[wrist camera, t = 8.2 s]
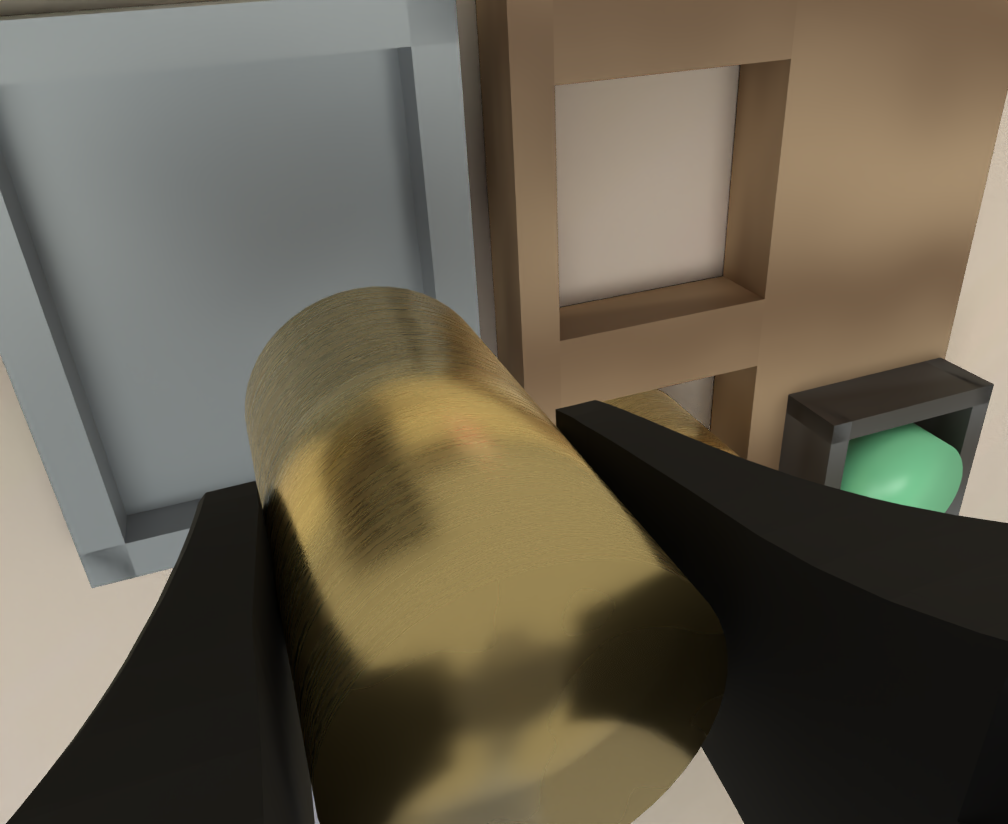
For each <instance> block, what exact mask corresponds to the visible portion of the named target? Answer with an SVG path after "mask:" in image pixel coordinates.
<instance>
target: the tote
mask: <svg viewBox="0 0 1008 824" xmlns="http://www.w3.org/2000/svg"><path fill="white" fill-rule="evenodd" d="M372 286H380V287H396V288H403V289H409V290H412V291H416V292H419V293H423V294H425V295H427V296H430V297H432V298H434V299H436V300H438V301H440V302H441V303H443V304H445V305H446V306H448V307H450V308H451V309H452V310H453V311H455V312H456V313H457V314H458V315H459V316H461V317H462V318H463V320H464V321H465V322H466V323H467V324H468V325H469V326H470V327H471V328H472V330H473V331H474V332H475V333H476V334H477V335H478V337H479V338H480V339H481V337H480V324H479V310H478V296H477V283H476V269H475V255H474V242H473V228H472V214H471V201H470V187H469V173H468V160H467V146H466V132H465V119H464V105H463V91H462V78H461V64H460V50H459V37H458V23H457V9H456V0H220V1H206V2H193V3H179V4H165V5H152V6H138V7H124V8H110V9H97V10H83V11H69V12H56V13H42V14H28V15H14V16H1V17H0V355H1V357H2V360H3V363H4V365H5V368H6V370H7V373H8V375H9V378H10V380H11V383H12V386H13V388H14V391H15V393H16V396H17V398H18V401H19V403H20V406H21V409H22V411H23V414H24V416H25V419H26V421H27V424H28V426H29V429H30V432H31V434H32V437H33V439H34V442H35V444H36V447H37V449H38V452H39V455H40V457H41V460H42V462H43V465H44V467H45V470H46V472H47V475H48V478H49V480H50V483H51V485H52V488H53V490H54V493H55V495H56V498H57V500H58V503H59V506H60V508H61V511H62V513H63V516H64V518H65V521H66V523H67V526H68V529H69V531H70V534H71V536H72V539H73V541H74V544H75V546H76V549H77V552H78V554H79V557H80V559H81V562H82V564H83V567H84V569H85V572H86V575H87V577H88V580H89V582H90V585H91V587H92V588H95V587H99V586H103V585H107V584H111V583H115V582H119V581H123V580H127V579H131V578H135V577H139V576H143V575H146V574H150V573H154V572H158V571H162V570H166V569H170V568H174V566H175V564H176V562H177V559H178V557H179V554H180V552H181V550H182V547H183V545H184V542H185V540H186V537H187V535H188V532H189V530H190V527H191V524H192V521H193V518H194V515H195V512H196V509H197V505H198V502H199V501H200V500H201V498H202V497H203V496H204V494H205V493H206V492H210V491H214V490H219V489H223V488H227V487H231V486H235V485H240V484H244V483H248V482H252V481H256V477H255V472H254V466H253V461H252V455H251V450H250V444H249V439H248V433H247V427H246V421H245V398H246V391H247V386H248V382H249V379H250V375H251V372H252V370H253V368H254V365H255V363H256V361H257V359H258V357H259V355H260V354H261V352H262V350H263V349H264V347H265V346H266V344H267V343H268V341H269V340H270V339H271V338H272V337H273V336H274V334H275V333H276V332H277V331H278V330H279V329H280V328H281V327H282V326H283V325H284V324H285V323H286V322H287V321H288V320H290V319H291V318H292V317H293V316H295V315H296V314H297V313H299V312H300V311H302V310H303V309H305V308H306V307H308V306H310V305H311V304H313V303H315V302H317V301H319V300H321V299H323V298H326V297H328V296H331V295H334V294H336V293H339V292H343V291H347V290H351V289H355V288H364V287H372ZM256 484H257V483H256Z"/></svg>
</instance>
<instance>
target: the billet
mask: <svg viewBox="0 0 1008 824" xmlns="http://www.w3.org/2000/svg"><path fill="white" fill-rule="evenodd" d="M245 421H246V427H247V433H248V439H249V444H250V450H251V455H252V461H253V466H254V472H255V477H256V483H257V488H258V492H259V496H260V500H261V504H262V508H263V512H264V518H265V523H266V529H267V534H268V540H269V545H270V551H271V556H272V564H273V573H274V580H275V586H276V592H277V598H278V604H279V609H280V615H281V620H282V626H283V631H284V637H285V642H286V648H287V653H288V659H289V664H290V670H291V675H292V681H293V686H294V692H295V697H296V703H297V708H298V714H299V719H300V725H301V730H302V736H303V741H304V747H305V752H306V758H307V763H308V769H309V774H310V780H311V785H312V791H313V796H314V802H315V807H316V813H317V818H318V821H319V823H320V824H630V823H631V822H633V821H634V820H635V819H636V818H637V817H639V816H640V815H641V814H642V813H643V812H645V811H646V810H647V809H648V808H649V807H650V806H652V805H653V804H654V803H655V802H656V801H657V800H658V799H659V798H660V797H661V796H662V795H663V794H664V793H665V792H666V791H667V790H668V789H669V788H670V786H671V785H672V784H673V783H674V782H675V781H676V779H677V778H678V777H679V776H680V775H681V774H682V772H683V771H684V770H685V769H686V767H687V766H688V765H689V763H690V762H691V760H692V759H693V758H694V756H695V755H696V753H697V752H698V750H699V749H700V747H701V745H702V744H703V742H704V740H705V738H706V737H707V735H708V733H709V731H710V729H711V727H712V725H713V722H714V720H715V718H716V716H717V714H718V711H719V707H720V704H721V701H722V698H723V695H724V690H725V685H726V679H727V666H728V654H727V647H726V640H725V636H724V633H723V630H722V627H721V624H720V621H719V619H718V617H717V616H716V614H715V612H714V611H713V609H712V607H711V606H710V604H709V603H708V602H707V601H706V600H705V598H704V597H703V596H702V595H701V594H700V593H699V591H698V590H697V589H696V588H695V587H694V586H693V584H692V583H691V582H690V581H689V580H688V579H687V578H686V576H685V575H684V574H683V573H682V572H681V571H680V569H679V568H678V567H677V566H676V565H675V564H674V562H673V561H672V560H671V559H670V558H669V557H668V555H667V554H666V553H665V552H664V551H663V550H662V549H661V547H660V546H659V545H658V544H657V543H656V542H655V540H654V539H653V538H652V537H651V536H650V535H649V533H648V532H647V531H646V530H645V529H644V528H643V527H642V525H641V524H640V523H639V522H638V521H637V520H636V518H635V517H634V516H633V515H632V514H631V513H630V511H629V510H628V509H627V508H626V507H625V506H624V505H623V503H622V502H621V501H620V500H619V499H618V498H617V496H616V495H615V494H614V493H613V492H612V491H611V489H610V488H609V487H608V486H607V485H606V484H605V483H604V481H603V480H602V479H601V478H600V477H599V476H598V474H597V473H596V472H595V471H594V470H593V469H592V467H591V466H590V465H589V464H588V463H587V462H586V461H585V459H584V458H583V457H582V456H581V455H580V454H579V452H578V451H577V450H576V449H575V448H574V447H573V445H572V444H571V443H570V442H569V441H568V440H567V439H566V437H565V436H564V435H563V434H562V433H561V432H560V430H559V429H558V428H557V427H556V426H555V425H554V423H553V422H552V421H551V420H550V419H549V418H548V417H547V415H546V414H545V413H544V412H543V411H542V410H541V408H540V407H539V406H538V405H537V404H536V403H535V401H534V400H533V399H532V398H531V397H530V396H529V395H528V393H527V392H526V391H525V390H524V389H523V388H522V386H521V385H520V384H519V383H518V382H517V381H516V379H515V378H514V377H513V376H512V375H511V374H510V373H509V371H508V370H507V369H506V368H505V367H504V366H503V364H502V363H501V362H500V361H499V360H498V359H497V357H496V356H495V355H494V354H493V353H492V352H491V350H490V349H489V348H488V347H487V346H486V345H485V344H484V342H483V341H482V340H481V339H480V338H479V337H478V335H477V334H476V333H475V332H474V331H473V330H472V328H471V327H470V326H469V325H468V324H467V323H466V322H465V321H464V320H463V318H462V317H461V316H459V315H458V314H457V313H456V312H455V311H453V310H452V309H451V308H450V307H448V306H446V305H445V304H443V303H441V302H440V301H438V300H436V299H434V298H432V297H430V296H427V295H425V294H423V293H419V292H416V291H412V290H409V289H403V288H396V287H380V286H372V287H364V288H355V289H351V290H347V291H343V292H339V293H336V294H334V295H331V296H328V297H326V298H323V299H321V300H319V301H317V302H315V303H313V304H311V305H310V306H308V307H306V308H305V309H303V310H302V311H300V312H299V313H297V314H296V315H295V316H293V317H292V318H291V319H290V320H288V321H287V322H286V323H285V324H284V325H283V326H282V327H281V328H280V329H279V330H278V331H277V332H276V333H275V334H274V336H273V337H272V338H271V339H270V340H269V341H268V343H267V344H266V346H265V347H264V349H263V350H262V352H261V354H260V355H259V357H258V359H257V361H256V363H255V365H254V368H253V370H252V372H251V375H250V379H249V382H248V386H247V391H246V398H245Z"/></svg>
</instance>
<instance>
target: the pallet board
mask: <svg viewBox="0 0 1008 824" xmlns="http://www.w3.org/2000/svg"><path fill="white" fill-rule="evenodd" d="M476 14H477V30H478V46H479V62H480V78H481V94H482V110H483V126H484V142H485V158H486V174H487V190H488V206H489V222H490V238H491V254H492V270H493V286H494V302H495V318H496V334H497V350H498V360H499V361H500V362H501V363H502V364H503V366H504V367H505V368H506V369H507V370H508V371H509V373H510V374H511V375H512V376H513V377H514V378H515V379H516V381H517V382H518V383H519V384H520V385H521V386H522V388H523V389H524V390H525V391H526V392H527V393H528V395H529V396H530V397H531V398H532V399H533V400H534V401H535V403H536V404H537V405H538V406H539V407H540V408H541V410H542V411H543V412H544V413H545V414H546V415H547V417H548V418H549V419H550V420H551V421H552V422H553V423H554V425H555V426H556V412H555V409H559V408H563V407H568V406H572V405H576V404H580V403H584V402H589V401H593V400H598V401H601V402H602V401H606V400H611V399H615V398H619V397H624V396H628V395H632V394H637V393H641V392H645V391H650V390H654V389H658V388H663V387H667V386H672V385H676V384H680V383H685V382H689V381H693V380H698V379H702V378H706V377H711V376H715V381H714V393H713V405H712V417H711V429H710V432H712V433H713V434H714V435H715V436H716V437H718V438H719V439H720V440H721V441H722V442H723V443H725V444H726V445H727V446H728V447H729V448H730V449H732V450H733V451H734V452H735V453H736V454H737V455H739V456H740V457H741V458H744V459H746V460H749V461H752V462H755V463H758V464H760V465H763V466H766V467H769V468H772V469H775V470H778V471H781V472H784V473H786V474H789V475H792V476H795V477H799V478H802V479H805V480H808V481H812V482H815V483H818V484H822V485H826V486H829V487H833V488H837V489H840V488H841V482H842V477H843V471H844V466H845V460H846V455H847V449H848V443H849V440H851V439H854V438H858V437H862V436H866V435H869V434H873V433H877V432H880V431H884V430H888V429H892V428H895V427H899V426H903V425H907V424H910V423H915V424H916V425H918V426H919V427H921V428H923V429H924V430H926V431H928V432H929V433H931V434H933V435H934V436H936V437H938V438H939V439H941V440H942V441H944V442H946V443H947V444H949V445H951V446H952V447H954V448H955V449H956V450H957V452H958V453H959V455H960V457H961V460H962V466H963V472H962V479H961V483H960V486H959V489H958V491H957V494H956V496H955V498H954V500H953V501H952V503H951V505H950V506H949V508H948V509H947V510H946V512H945V513H948V514H953V515H959V511H960V507H961V504H962V500H963V496H964V493H965V489H966V485H967V482H968V478H969V474H970V470H971V467H972V463H973V459H974V456H975V452H976V448H977V445H978V441H979V437H980V434H981V430H982V426H983V422H984V419H985V415H986V411H987V408H988V404H989V400H990V397H991V393H992V389H993V386H994V384H992V383H990V382H988V381H986V380H984V379H982V378H980V377H978V376H976V375H974V374H972V373H970V372H968V371H966V370H964V369H962V368H960V367H958V366H956V365H954V364H952V363H950V362H948V361H946V360H945V356H946V351H947V347H948V343H949V339H950V334H951V330H952V326H953V321H954V317H955V313H956V309H957V304H958V300H959V296H960V292H961V287H962V283H963V279H964V274H965V270H966V266H967V262H968V257H969V253H970V249H971V244H972V240H973V236H974V232H975V227H976V223H977V219H978V214H979V210H980V206H981V202H982V197H983V193H984V189H985V185H986V180H987V176H988V172H989V167H990V163H991V159H992V155H993V150H994V146H995V142H996V137H997V133H998V129H999V125H1000V120H1001V116H1002V112H1003V108H1004V103H1005V99H1006V95H1007V90H1008V0H476ZM733 65H740V76H739V89H738V101H737V113H736V125H735V137H734V149H733V162H732V174H731V186H730V198H729V210H728V222H727V235H726V247H725V259H724V271H723V276H721V277H716V278H711V279H706V280H701V281H695V282H690V283H685V284H680V285H675V286H669V287H664V288H659V289H654V290H649V291H643V292H638V293H633V294H628V295H623V296H617V297H612V298H607V299H602V300H597V301H591V302H586V303H581V304H576V305H571V306H565V307H560V308H559V271H558V224H557V177H556V130H555V85H563V84H572V83H581V82H590V81H599V80H608V79H617V78H626V77H635V76H644V75H652V74H661V73H670V72H679V71H688V70H697V69H706V68H715V67H724V66H733Z"/></svg>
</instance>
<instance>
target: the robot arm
mask: <svg viewBox="0 0 1008 824" xmlns="http://www.w3.org/2000/svg"><path fill="white" fill-rule="evenodd" d="M555 412H556V427H557V428H558V429H559V430H560V432H561V433H562V434H563V435H564V436H565V437H566V439H567V440H568V441H569V442H570V443H571V444H572V445H573V447H574V448H575V449H576V450H577V451H578V452H579V454H580V455H581V456H582V457H583V458H584V459H585V461H586V462H587V463H588V464H589V465H590V466H591V467H592V469H593V470H594V471H595V472H596V473H597V474H598V476H599V477H600V478H601V479H602V480H603V481H604V483H605V484H606V485H607V486H608V487H609V488H610V489H611V491H612V492H613V493H614V494H615V495H616V496H617V498H618V499H619V500H620V501H621V502H622V503H623V505H624V506H625V507H626V508H627V509H628V510H629V511H630V513H631V514H632V515H633V516H634V517H635V518H636V520H637V521H638V522H639V523H640V524H641V525H642V527H643V528H644V529H645V530H646V531H647V532H648V533H649V535H650V536H651V537H652V538H653V539H654V540H655V542H656V543H657V544H658V545H659V546H660V547H661V549H662V550H663V551H664V552H665V553H666V554H667V555H668V557H669V558H670V559H671V560H672V561H673V562H674V564H675V565H676V566H677V567H678V568H679V569H680V571H681V572H682V573H683V574H684V575H685V576H686V578H687V579H688V580H689V581H690V582H691V583H692V584H693V586H694V587H695V588H696V589H697V590H698V591H699V593H700V594H701V595H702V596H703V597H704V598H705V600H706V601H707V602H708V603H709V604H710V606H711V607H712V609H713V611H714V612H715V614H716V616H717V617H718V619H719V621H720V624H721V627H722V630H723V633H724V636H725V640H726V647H727V654H728V666H727V679H726V685H725V690H724V695H723V698H722V701H721V704H720V707H719V711H718V714H717V716H716V718H715V720H714V722H713V725H712V727H711V729H710V731H709V733H708V735H707V737H706V738H705V740H704V742H703V744H702V745H701V747H702V749H703V750H704V752H705V754H706V756H707V757H708V759H709V761H710V763H711V764H712V766H713V768H714V770H715V771H716V773H717V775H718V777H719V779H720V780H721V782H722V784H723V786H724V787H725V789H726V791H727V793H728V794H729V796H730V798H731V800H732V802H733V804H734V805H735V807H736V809H737V811H738V813H739V815H740V816H741V818H742V820H743V822H744V824H1008V523H1003V522H996V521H990V520H983V519H977V518H970V517H964V516H958V515H953V514H948V513H942V512H937V511H932V510H927V509H922V508H916V507H911V506H906V505H901V504H897V503H892V502H888V501H883V500H879V499H875V498H871V497H867V496H863V495H859V494H855V493H852V492H848V491H844V490H841V489H837V488H833V487H829V486H826V485H822V484H818V483H815V482H812V481H808V480H805V479H802V478H799V477H795V476H792V475H789V474H786V473H784V472H781V471H778V470H775V469H772V468H769V467H766V466H763V465H760V464H758V463H755V462H752V461H749V460H746V459H744V458H741V457H738V456H736V455H733V454H730V453H728V452H725V451H723V450H720V449H717V448H715V447H712V446H710V445H707V444H705V443H702V442H700V441H698V440H695V439H693V438H690V437H688V436H685V435H683V434H681V433H678V432H676V431H673V430H671V429H669V428H666V427H664V426H662V425H659V424H657V423H654V422H652V421H650V420H647V419H645V418H643V417H640V416H638V415H635V414H633V413H630V412H628V411H625V410H623V409H620V408H618V407H615V406H613V405H610V404H607V403H604V402H601V401H598V400H593V401H589V402H584V403H580V404H576V405H572V406H568V407H563V408H559V409H555ZM6 824H320V823H319V821H318V818H317V813H316V807H315V802H314V796H313V791H312V785H311V780H310V774H309V769H308V763H307V758H306V752H305V747H304V741H303V736H302V730H301V725H300V719H299V714H298V708H297V703H296V697H295V692H294V686H293V681H292V675H291V670H290V664H289V659H288V653H287V648H286V642H285V637H284V631H283V626H282V620H281V615H280V609H279V604H278V598H277V592H276V586H275V580H274V573H273V564H272V556H271V551H270V545H269V540H268V534H267V529H266V523H265V518H264V512H263V508H262V504H261V500H260V496H259V492H258V488H257V484H256V481H252V482H248V483H244V484H240V485H235V486H231V487H227V488H223V489H219V490H214V491H210V492H206V493H205V494H204V496H203V497H202V498H201V500H200V501H199V502H198V505H197V509H196V512H195V515H194V518H193V521H192V524H191V527H190V530H189V532H188V535H187V537H186V540H185V542H184V545H183V547H182V550H181V552H180V554H179V557H178V559H177V562H176V564H175V566H174V568H173V570H172V572H171V574H170V577H169V579H168V581H167V583H166V585H165V587H164V589H163V591H162V594H161V596H160V598H159V600H158V602H157V604H156V606H155V608H154V610H153V612H152V614H151V616H150V617H149V619H148V621H147V623H146V625H145V626H144V628H143V630H142V632H141V633H140V635H139V637H138V639H137V641H136V642H135V644H134V646H133V648H132V650H131V651H130V653H129V655H128V657H127V659H126V660H125V662H124V664H123V665H122V667H121V669H120V670H119V672H118V673H117V675H116V677H115V678H114V680H113V681H112V683H111V685H110V686H109V688H108V689H107V691H106V692H105V694H104V695H103V697H102V698H101V700H100V702H99V703H98V704H97V706H96V707H95V709H94V710H93V712H92V713H91V715H90V716H89V717H88V719H87V720H86V722H85V723H84V725H83V726H82V728H81V729H80V730H79V732H78V733H77V735H76V736H75V737H74V739H73V740H72V742H71V743H70V744H69V745H68V747H67V748H66V749H65V751H64V752H63V753H62V755H61V756H60V757H59V758H58V760H57V761H56V762H55V764H54V765H53V766H52V768H51V769H50V770H49V771H48V773H47V774H46V775H45V777H44V778H43V779H42V780H41V782H40V783H39V784H38V785H37V787H36V788H35V789H34V790H33V791H32V793H31V794H30V795H29V796H28V798H27V799H26V800H25V801H24V803H23V804H22V805H21V806H20V808H19V809H18V810H17V811H16V812H15V814H14V815H13V816H12V817H11V818H10V819H9V821H8V822H7V823H6Z"/></svg>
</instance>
